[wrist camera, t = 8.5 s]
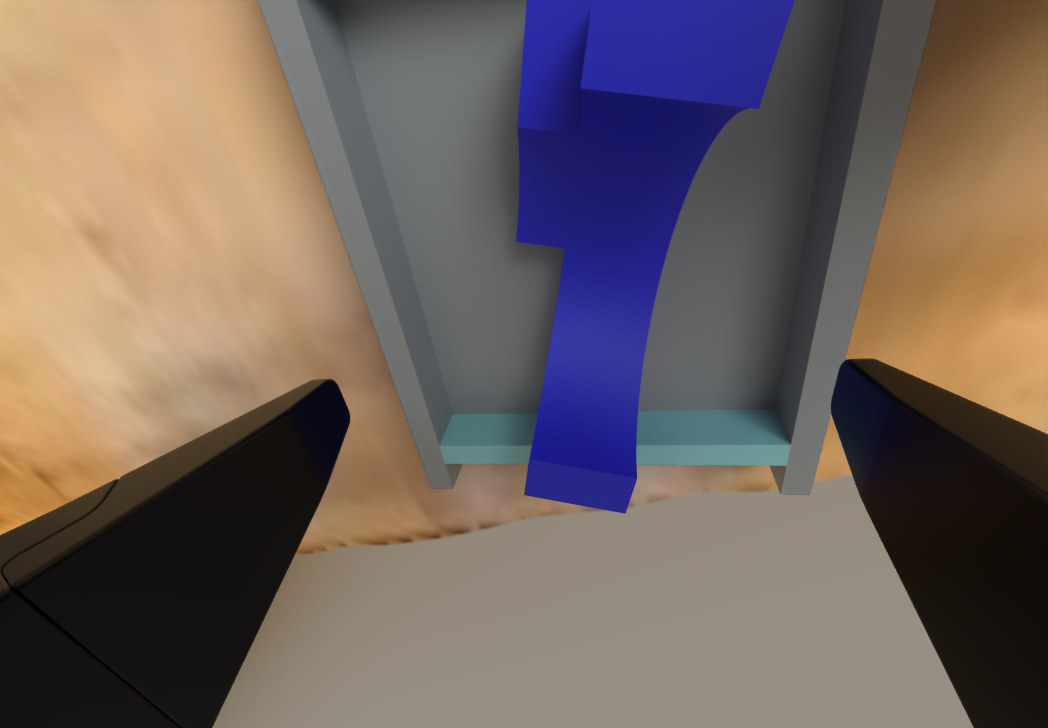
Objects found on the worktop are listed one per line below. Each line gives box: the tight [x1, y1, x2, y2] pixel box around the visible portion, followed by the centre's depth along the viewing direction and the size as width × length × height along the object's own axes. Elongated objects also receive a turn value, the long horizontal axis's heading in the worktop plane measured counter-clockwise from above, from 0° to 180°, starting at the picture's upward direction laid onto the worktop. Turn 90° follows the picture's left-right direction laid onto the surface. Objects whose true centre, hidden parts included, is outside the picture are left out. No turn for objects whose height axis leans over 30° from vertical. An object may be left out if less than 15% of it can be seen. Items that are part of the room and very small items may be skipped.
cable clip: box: [516, 0, 794, 513], centre depth 13 cm, size 12×4×6 cm, turn 175°
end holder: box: [258, 0, 936, 495], centre depth 15 cm, size 15×20×3 cm
